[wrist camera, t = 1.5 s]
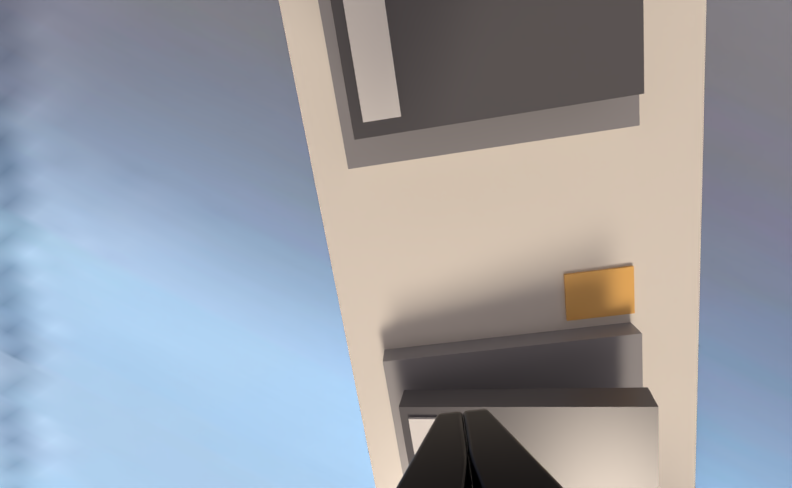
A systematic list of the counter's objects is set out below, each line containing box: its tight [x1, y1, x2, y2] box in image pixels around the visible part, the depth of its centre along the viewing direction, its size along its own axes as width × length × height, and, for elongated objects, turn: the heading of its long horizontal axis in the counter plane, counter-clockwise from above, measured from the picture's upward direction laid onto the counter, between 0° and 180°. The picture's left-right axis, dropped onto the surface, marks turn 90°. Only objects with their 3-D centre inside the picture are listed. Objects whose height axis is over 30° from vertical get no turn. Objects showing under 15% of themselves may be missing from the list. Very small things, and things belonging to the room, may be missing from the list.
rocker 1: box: [330, 0, 644, 140], centre depth 12 cm, size 8×4×1 cm, turn 99°
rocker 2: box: [399, 387, 659, 488], centre depth 15 cm, size 8×4×1 cm, turn 99°
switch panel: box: [279, 0, 706, 488], centre depth 16 cm, size 13×25×3 cm, turn 9°
